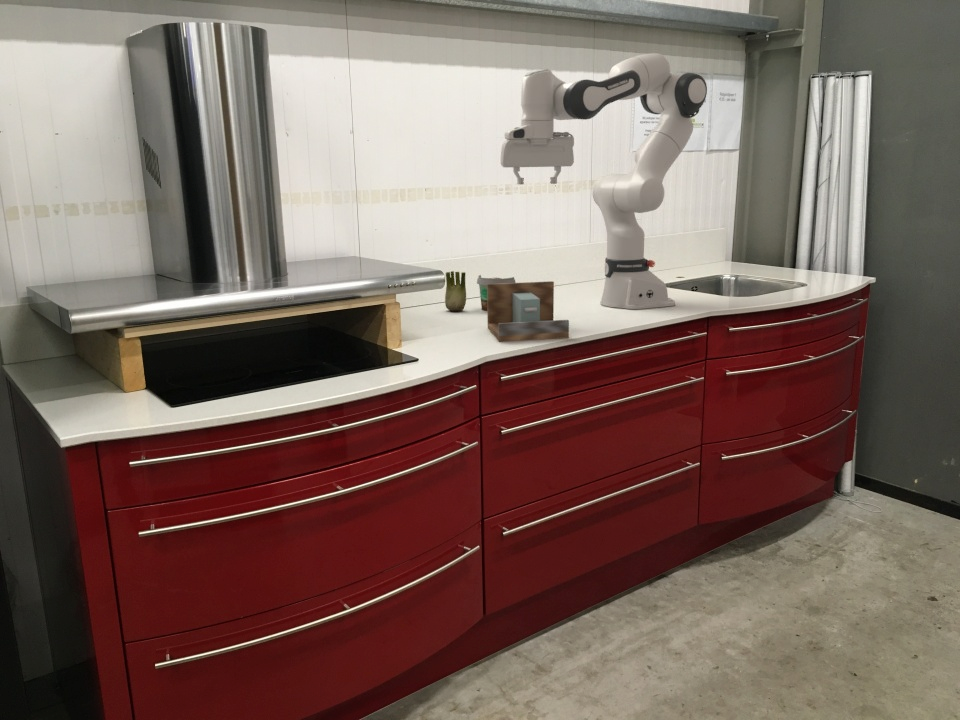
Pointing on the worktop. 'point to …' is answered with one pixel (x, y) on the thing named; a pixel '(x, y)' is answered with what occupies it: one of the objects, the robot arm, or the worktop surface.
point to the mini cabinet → (525, 307)
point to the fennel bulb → (455, 291)
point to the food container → (483, 287)
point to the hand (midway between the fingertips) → (537, 184)
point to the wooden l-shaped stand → (515, 331)
